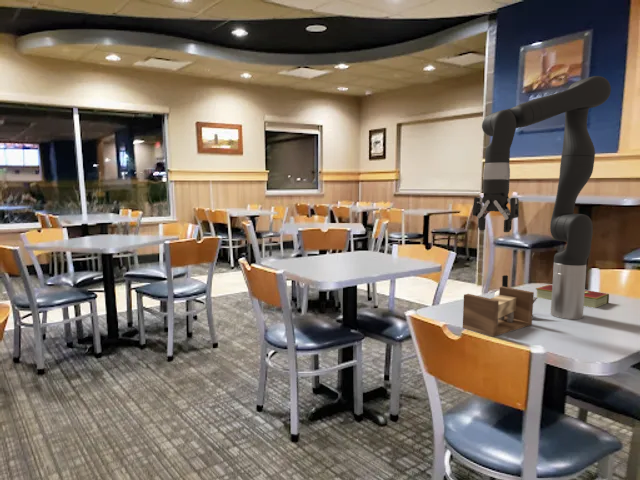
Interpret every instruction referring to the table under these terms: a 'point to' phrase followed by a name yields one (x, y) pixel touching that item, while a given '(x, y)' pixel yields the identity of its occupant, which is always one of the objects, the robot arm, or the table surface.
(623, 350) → the table surface
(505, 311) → the shelf board
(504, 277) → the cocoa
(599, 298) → the hardcover book
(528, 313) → the peg rack
